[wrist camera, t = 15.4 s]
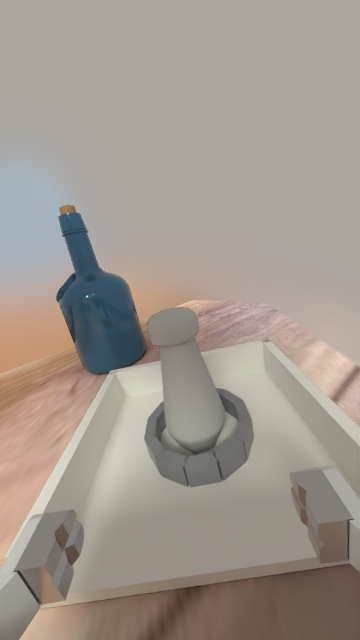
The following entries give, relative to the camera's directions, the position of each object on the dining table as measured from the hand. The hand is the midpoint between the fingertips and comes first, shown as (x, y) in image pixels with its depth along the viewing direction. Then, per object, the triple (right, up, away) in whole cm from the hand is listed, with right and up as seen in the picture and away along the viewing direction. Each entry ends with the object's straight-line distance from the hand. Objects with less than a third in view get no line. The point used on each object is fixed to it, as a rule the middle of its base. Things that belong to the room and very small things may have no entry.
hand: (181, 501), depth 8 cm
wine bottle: (-13, -2, +39) cm, 42 cm away
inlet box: (+2, -6, +14) cm, 15 cm away
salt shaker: (+2, -5, +14) cm, 15 cm away
